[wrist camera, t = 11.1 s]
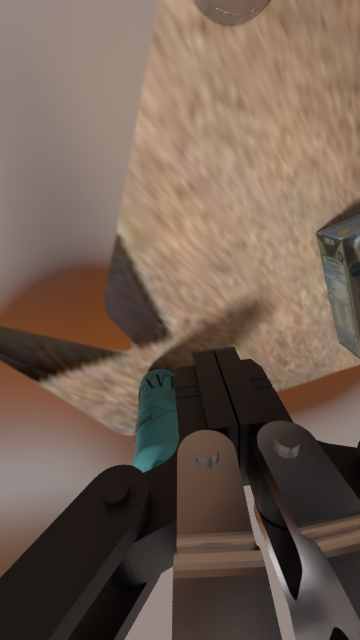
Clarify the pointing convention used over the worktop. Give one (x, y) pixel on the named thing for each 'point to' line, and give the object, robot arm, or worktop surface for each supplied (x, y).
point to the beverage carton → (343, 278)
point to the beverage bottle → (156, 420)
